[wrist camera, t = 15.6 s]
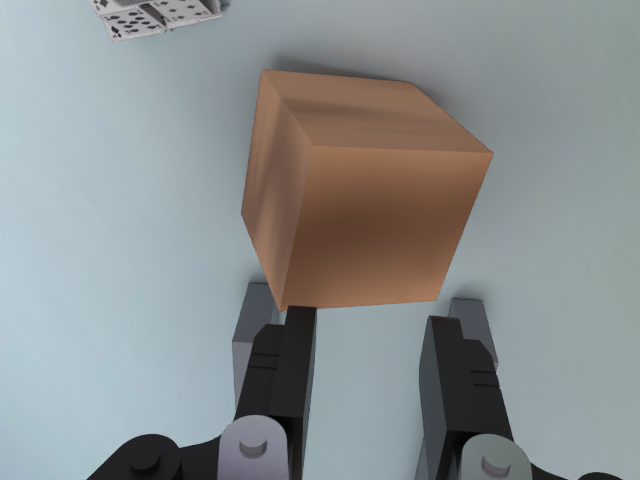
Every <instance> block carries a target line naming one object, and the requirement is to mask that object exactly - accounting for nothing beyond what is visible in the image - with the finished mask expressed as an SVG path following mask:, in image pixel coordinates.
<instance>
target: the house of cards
mask: <svg viewBox="0 0 640 480" xmlns="http://www.w3.org/2000/svg"><path fill="white" fill-rule="evenodd" d="M90 2H91V5H92V7H93V10H94V13H95V15H96V16H97V17H99V18H101V19H102V20H103V22H104V25H105V27H106V30H107V33H108V35H109V38H110V41H111V42H116V41H121V40H126V39H131V38H137V37H142V36H147V35H152V34H157V33H165V32H166V31H167V30H169V29H171V32H172V31H173V30H174V29H175V28H177V27H182V26H187V25H192V24H197V23H201V21H204V20H209V19H214V18H219V17H222V14H221V11H224V10H225V9H226V8H227V7H229V6H230V5H226V6H221V3H220V0H90Z"/></svg>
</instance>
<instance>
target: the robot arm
mask: <svg viewBox="0 0 640 480" xmlns="http://www.w3.org/2000/svg"><path fill="white" fill-rule="evenodd" d="M316 322H317V307H310V306H296V305H288V309H287V315H286V320H285V325H277V324H265V326H264V327H263V328H262V329H261V330H260V331H259V332H258V333H257V335H256V336H255V337H254V341H253V345H252V349H251V354H250V357H249V361H248V365H247V369H246V373H245V377H244V381H243V385H242V390H241V394H240V398H239V402H238V406H237V410H236V414H235V417H234V420H233V422H232V423H231V424H229V425H228V426H227V427H226V429H225V430H224V432H223V433H222V434H221V435H220V436H218V437H216V438H215V439H213V440H210V441H208V442H205V443H201V444H196V445H191V446H187V447H182V448H178V446H177V444H176V443H175V442H174V441H173V440H171V439H170V438H168V437H166V436H163V435H159V434H146V435H141V436H138V437H135V438H133V439H131V440H129V441H127V442H126V443H124V444H123V445H122V446H121V447H119V448H118V449H117V450H116V451H115V452H114V453H113V454H112V455H111V456H110V457H109V458H108V459H107V460H106V461H105V462H104V463H103V464H102V465H101V466H100V467H99V468H98V469H97V470H96V471H95V472H94V473H93V474H92V475H91V476H90V477H89V478H88V479H87V480H302V475H303V466H304V457H305V448H306V439H307V430H308V420H309V411H310V402H311V393H312V384H313V374H314V362H315V344H316ZM499 386H500V385H499V381H498V377H497V375H496V370H495V366H494V362H493V358H492V355H491V354H490V352H489V351H488V350H487V349H486V347H485V346H484V345H483V344H482V342H481V341H480V340H474V339H464V337H463V332H462V328H461V323H460V319H459V318H456V317H442V316H429V317H428V319H427V324H426V330H425V336H424V341H423V347H422V353H421V359H420V367H419V388H420V398H421V408H422V418H423V428H424V438H425V448H426V458H427V468H428V478H429V480H567V479H565V478H562V477H559V476H556V475H553V474H551V473H548V472H546V471H544V470H542V469H540V468H538V467H536V466H535V465H534V464H532V463H531V462H530V461H529V459H528V457H527V455H526V454H525V453H524V451H523V450H522V449H521V448H520V447H519V446H518V445H517V444H515V442H514V439H513V436H512V432H511V428H510V424H509V420H508V416H507V412H506V409H505V405H504V401H503V397H502V393H501V389H499ZM578 480H622V479H620V478H618V477H616V476H613V475H610V474H607V473H600V472H593V473H588V474H585V475H583V476H581V477H580V478H579V479H578Z"/></svg>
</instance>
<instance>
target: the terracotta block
mask: <svg viewBox="0 0 640 480" xmlns="http://www.w3.org/2000/svg"><path fill="white" fill-rule="evenodd" d="M493 154H494V153H493V152H492V151H491V150H489V149H488V148H487V147H486V146H485V145H484V144H482V143H481V142H480V141H479V140H478V139H477V138H475V137H474V136H473V135H472V134H471V133H469V132H468V131H467V130H466V129H465V128H464V127H462V126H461V125H460V124H459V123H458V122H457V121H455V120H454V119H453V118H452V117H451V116H450V115H448V114H447V113H446V112H445V111H444V110H443V109H441V108H440V107H439V106H438V105H437V104H435V103H434V102H433V101H432V100H431V99H430V98H428V97H427V96H426V95H425V94H424V93H423V92H421V91H420V90H419V89H418V88H417V87H416V86H414V85H413V84H412V83H411V82H400V81H389V80H378V79H367V78H355V77H344V76H333V75H322V74H310V73H299V72H288V71H277V70H266V69H262V70H261V77H260V84H259V91H258V98H257V105H256V112H255V119H254V126H253V133H252V140H251V147H250V154H249V161H248V168H247V175H246V182H245V189H244V196H243V203H242V210H241V215H242V217H243V220H244V223H245V225H246V228H247V230H248V233H249V235H250V238H251V240H252V243H253V246H254V248H255V251H256V253H257V256H258V258H259V261H260V263H261V266H262V269H263V271H264V274H265V276H266V279H267V281H268V284H269V287H270V289H271V292H272V294H273V297H274V299H275V302H276V304H277V307H278V310H279V311H287V309H288V305H296V306H310V307H317V309H323V308H337V307H352V306H367V305H381V304H396V303H410V302H425V301H436V299H437V297H438V294H439V291H440V289H441V286H442V284H443V281H444V279H445V276H446V274H447V271H448V269H449V266H450V263H451V261H452V258H453V256H454V253H455V251H456V248H457V246H458V243H459V240H460V238H461V235H462V233H463V230H464V228H465V225H466V223H467V220H468V218H469V215H470V212H471V210H472V207H473V205H474V202H475V200H476V197H477V195H478V192H479V189H480V187H481V184H482V182H483V179H484V177H485V174H486V172H487V169H488V167H489V164H490V161H491V159H492V156H493Z"/></svg>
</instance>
